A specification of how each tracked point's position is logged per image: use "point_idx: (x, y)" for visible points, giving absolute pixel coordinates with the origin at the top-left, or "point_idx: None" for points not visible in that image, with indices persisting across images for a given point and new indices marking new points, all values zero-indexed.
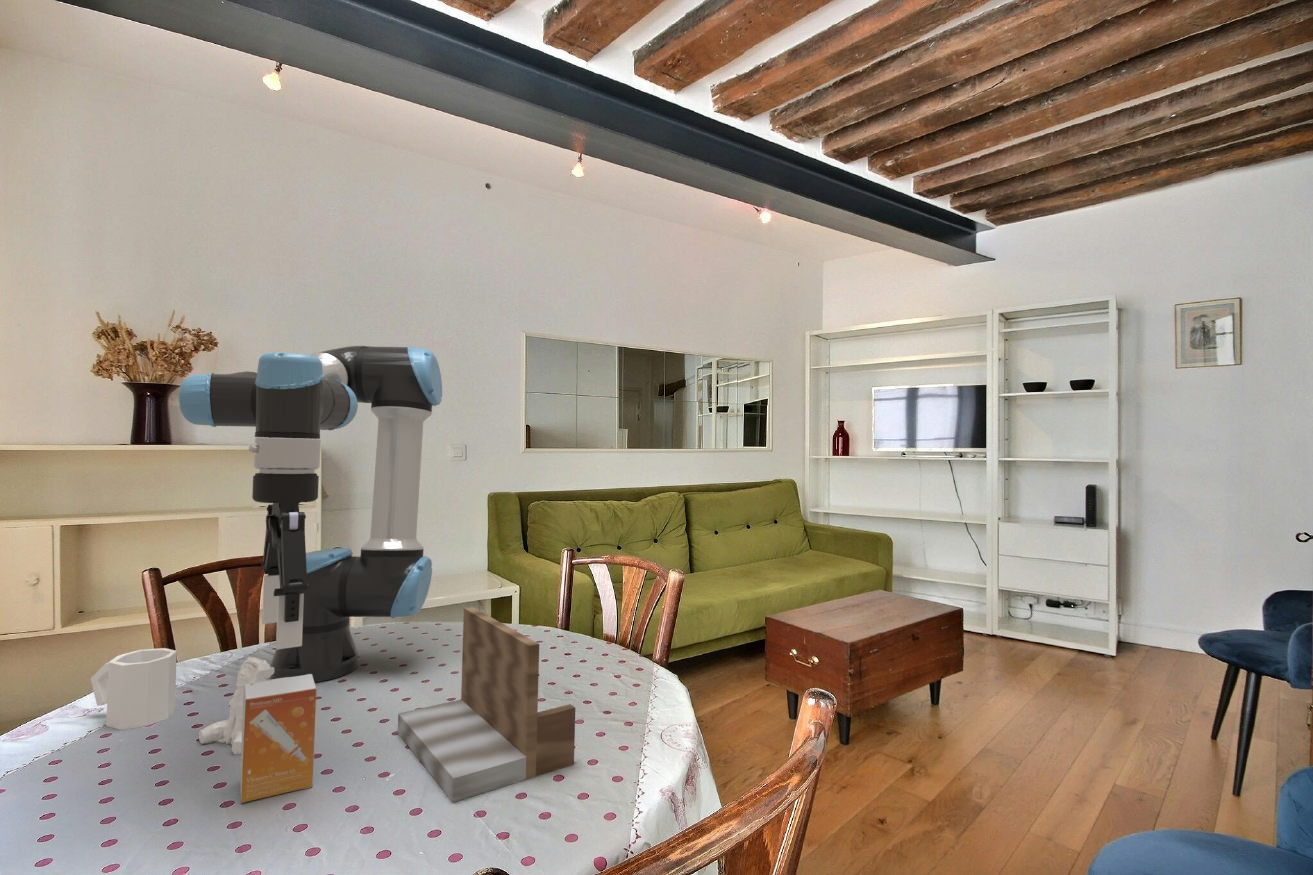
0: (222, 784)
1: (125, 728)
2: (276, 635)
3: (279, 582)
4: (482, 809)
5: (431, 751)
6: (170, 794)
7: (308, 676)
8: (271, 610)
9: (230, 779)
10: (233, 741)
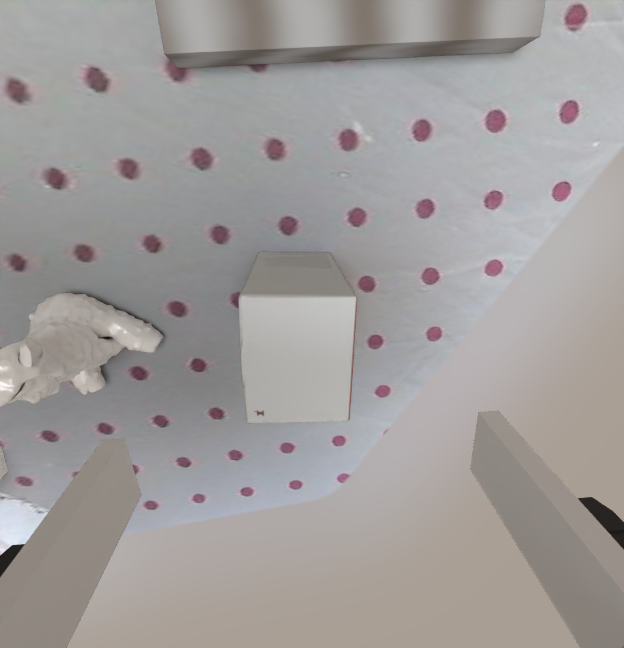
0: None
1: (6, 466)
2: (491, 501)
3: (21, 635)
4: (567, 7)
5: (407, 40)
6: None
7: (260, 305)
8: (112, 515)
9: None
10: (147, 352)
